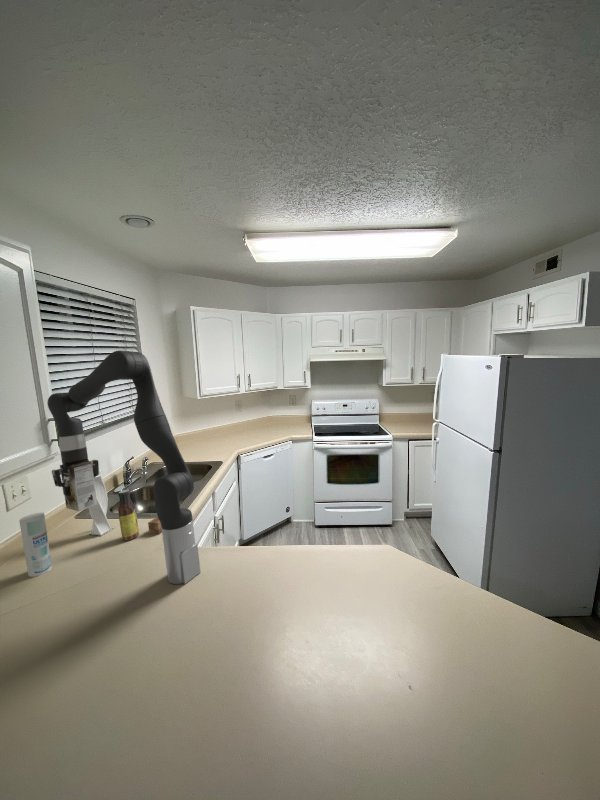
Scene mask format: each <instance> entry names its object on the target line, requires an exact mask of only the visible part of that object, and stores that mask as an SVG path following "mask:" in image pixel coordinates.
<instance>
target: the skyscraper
mask: <svg viewBox="0 0 600 800" xmlns="http://www.w3.org/2000/svg"><path fill="white" fill-rule="evenodd" d="M94 484H95V492H96V499H97V505H94V506H92V507H89V508H88V511H89V514H90V516H91V519H92V530H91V535H90V536H94V535H98V536H97V537H102V536H104V535H106V534H107V532H108V531H109V532H111V531H112V530H111V529H113V528H111V527H112V526H111V525H110V522H109V519H108V518H107V512H108V503H109V502H108V491H107V488H106V484H105V481H104V480H103V471H102V469H100V470H99V475H98V476H96V477H94ZM110 530H111V531H110ZM113 530H114V529H113ZM109 532H108V533H109ZM105 533H106V534H105Z"/></svg>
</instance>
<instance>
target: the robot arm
mask: <svg viewBox="0 0 600 800" xmlns="http://www.w3.org/2000/svg"><path fill="white" fill-rule="evenodd" d="M117 380H121V381H122V380H123V381H124V380H130V381H131V380H132V382H133V384H134V387H135V391H136V396H137V399H136V403H135V405H136V406H135V409H134V415H133V423H134V425H135V428H136V430H137V433H138V436H139V438H140V440H141V441H142V443H143V444H144V445H145V446H146V447H147V448H148V449H150V451H152V452H154V454H156V455H157V456H158V457H159V458H160V459H161V461H162V462H163V464H164V467H165V468H166V471H167V473H166V474H165V475H163V476H161V477H159V478H157V479H156V480H155V481H154V483H153V488H152V493H153V498H154V504H155V505H154V506H155V509H156V515H157V516H156V517H158V519H159V520H160V523H161V528H162V533H161V536H162V543H163V550H164V551H163V552H164V559H165V565H166V566H165V567H166V574H167V582H168V583H169V584H173V585H174V584H175V585H179V584H187V583H188V582H190V581H191V580H192V579H194V578H195V577H196V576H197V575H198V574H200V573H201V572H202V571H201V566H200V565H201V564H200V556H199V555H200V554H199V545H198V543H196V538H195V530H194V529H195V528H194V519H193V513H192V510H191V509H188V508H181V506H180V501H182V500H184V499H186V498H187V497H189V496H190V495H191V494H192V493H193V492H194V489H195V482H194V478H193V475H192V473H191V471H190V469H189V468H188V465H187V464H186V462H185V460H184V457H183V456H182V454H181V452H180V449H179V447H178V445H177V442H176V439H175V436H174V435H173V432H172V429H171V427H170V423H169V421H168V418H167V415H166V413H165V411H164V408H163V406H162V405H163V404H162V402H161V401H160V397H159V394H158V392H157V391H158V390H157V389H156V385H155V381H154V377H153V373H152V369H151V366H150V363H149V360H148V358H147V357H146V356H145V355H144V354H143V353H141V352H138V351H134V350H133V351H132V350H131V351H130V350H115V351H112V352H111V353H110V354H109V355H107V356H106V357H105V358H104V359H103V360H102V361H101V362H100V363H99V364H98V365H97V366H96V367H95V368H94V370H93V371H91V373H90V374H89V375H87V376H86V377H84V378H82V379H81V380H80V381H77V383H76V384H73V385H72V386H71V387H70V388H69V390H68V391H67V392H55V393H52V394H50V395H49V397H48V398H47V408H48V410H49V412H50V413H51V415H52V417H53V419H54V422H55V424H56V426H57V430H58V431H57V432H58V436H59V437H58V438H59V439H58V442H59V443H58V444H59V445H58V446H59V447H58V448H59V451H60V459H61V463H62V464H61V465H62V468H60V467H59V468H58V469H52V470H51V475H52V478H53V482H54V486H55V487H59V488H61V487H62V493H63V496H64V495H65V496H66V497H70V496H71V493H70V486H69V480H70V478H69V476H68V477H65V476H64V480H63V482H62V476H61V472H62V471H63V472H65V473H68V469H67V466H70V465H73V464H77V463H83V462H92V469H93V476H94V477H96V476H98V475H99V471H100V470H99V469H100V468H99V467H100V466H99V465H100V464H99V460H98V459H91V460H89V456H88V448H87V443H86V437H85V434H84V433H85V432H84V427H83V425H84V424H83V421H82V419H80V418H78V417H71V416H70V415H69V413H72V412H78V411H81V410H83V409H85V408H86V407H87V405H88V404H89V402H90V401H92V400H94V399H95V398H97V397H99V396H100V395H101V394H102V393H103V392H104V390H105V388H106V385H107V384H108V383H111V382H113V381H117ZM65 496H64V497H65Z"/></svg>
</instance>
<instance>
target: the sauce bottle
mask: <svg viewBox="0 0 600 800" xmlns="http://www.w3.org/2000/svg"><path fill="white" fill-rule="evenodd" d="M130 494H131V492H130V489H123V490H120V491H119V492H118V494H117V496H118V497H119V506H118V508H117V512H118V521H119V526H120V531H121V532H120V533H121V537H122V540H123V541H127V542H128V541H132V540H134V539H135V538H137V537H139V535H140V534H139V531H140V528H139V525H138V517H137V511H136V509H137V508H136V506H135V505H134V503H133V501H132V499H131V495H130Z"/></svg>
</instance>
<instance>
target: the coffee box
mask: <svg viewBox="0 0 600 800" xmlns="http://www.w3.org/2000/svg"><path fill="white" fill-rule="evenodd" d="M60 468H62V464H59V469H60ZM67 469H68V473H65V472H63V471H62V472H61V475H60V477H61V481H62V482H63V480H64V476H65V477H68V476H69V478H70V480H69V486H70V493H71V496H70V497H66V496H65V495H64V494H63V496H64V501H65V508H66V509H69V510H72V511H76V512H81V511H84V510H86V509H89V507H92V506H94V505H97V499H96V492H95V484H94V476H93V469H92V462H83V463H77V464H73V465H70V466H67Z"/></svg>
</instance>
